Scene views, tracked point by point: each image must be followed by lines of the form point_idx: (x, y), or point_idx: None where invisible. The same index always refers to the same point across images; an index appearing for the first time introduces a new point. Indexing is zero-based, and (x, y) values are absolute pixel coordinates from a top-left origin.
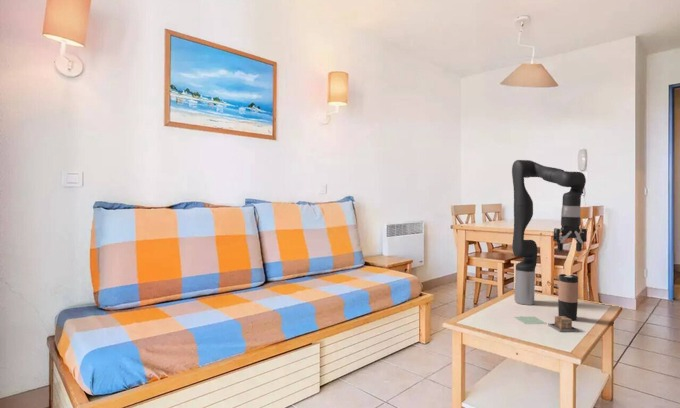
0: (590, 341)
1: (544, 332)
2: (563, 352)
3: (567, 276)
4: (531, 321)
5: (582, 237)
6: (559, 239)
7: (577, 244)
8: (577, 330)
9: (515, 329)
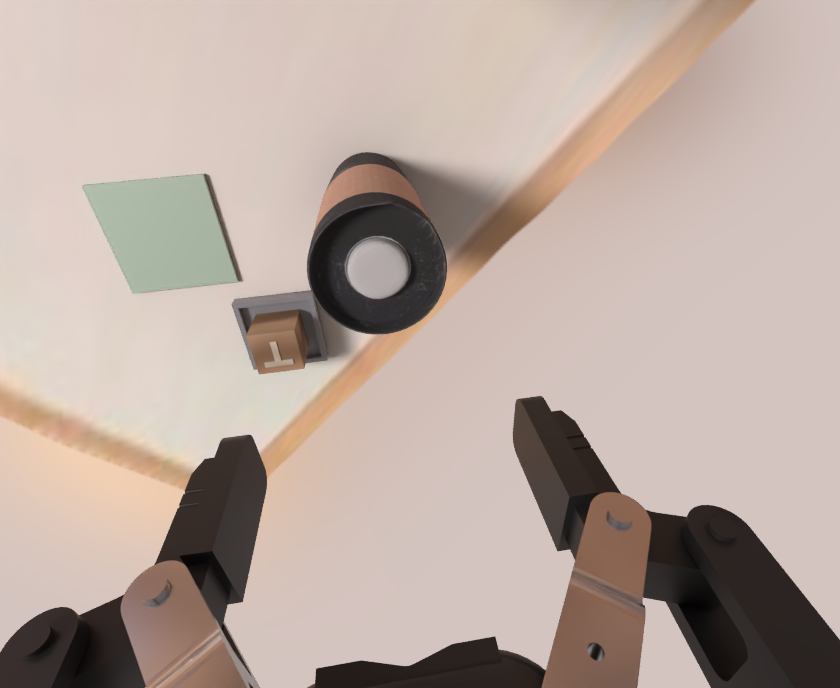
0: (326, 417)
1: (198, 363)
2: None
3: (368, 277)
4: (169, 256)
5: (759, 600)
6: (165, 647)
7: (553, 494)
8: (323, 359)
9: (82, 344)
